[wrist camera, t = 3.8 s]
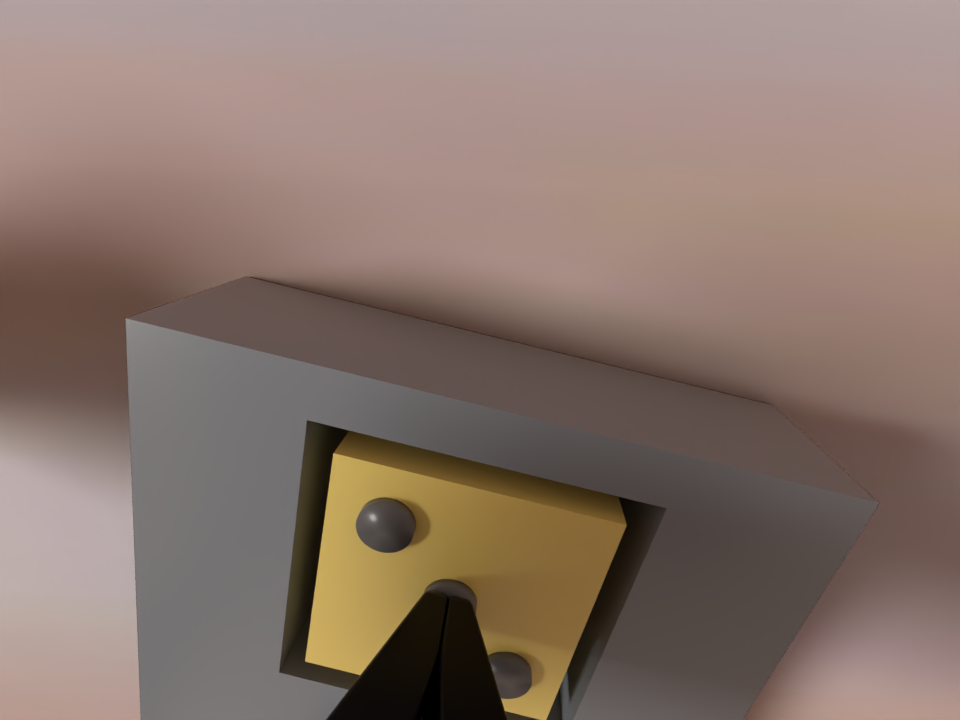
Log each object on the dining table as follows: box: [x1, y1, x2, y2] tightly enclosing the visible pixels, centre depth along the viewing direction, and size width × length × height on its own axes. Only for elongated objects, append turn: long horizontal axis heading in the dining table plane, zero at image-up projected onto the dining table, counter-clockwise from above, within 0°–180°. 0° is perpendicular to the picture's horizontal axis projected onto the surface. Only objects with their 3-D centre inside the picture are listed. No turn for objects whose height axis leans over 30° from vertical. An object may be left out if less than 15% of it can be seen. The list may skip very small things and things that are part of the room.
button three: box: [305, 431, 627, 720], centre depth 10 cm, size 5×5×3 cm
